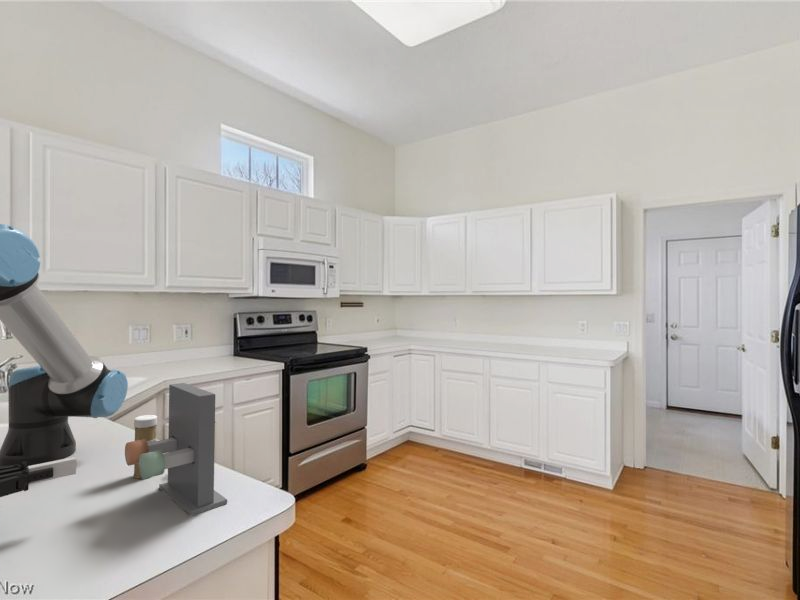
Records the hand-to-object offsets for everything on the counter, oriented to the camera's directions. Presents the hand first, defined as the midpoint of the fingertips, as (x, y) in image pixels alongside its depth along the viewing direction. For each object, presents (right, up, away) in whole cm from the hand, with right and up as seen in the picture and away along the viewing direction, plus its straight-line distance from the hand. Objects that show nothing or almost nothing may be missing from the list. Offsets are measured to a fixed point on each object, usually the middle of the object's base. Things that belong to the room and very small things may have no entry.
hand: (75, 465), depth 78 cm
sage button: (+16, -2, +4) cm, 17 cm away
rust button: (+10, -2, +10) cm, 14 cm away
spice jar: (+1, -10, +20) cm, 23 cm away
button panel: (+16, -10, +10) cm, 21 cm away
